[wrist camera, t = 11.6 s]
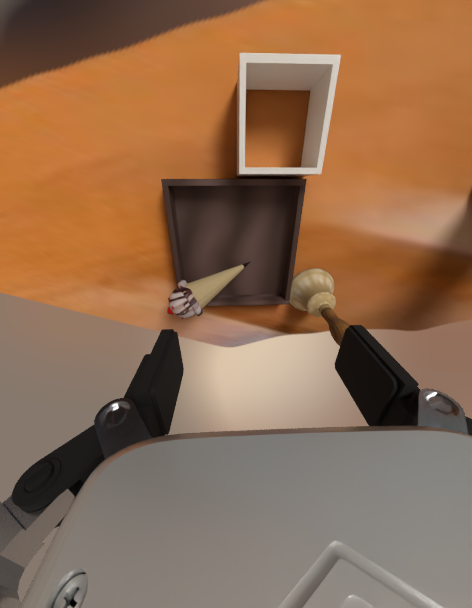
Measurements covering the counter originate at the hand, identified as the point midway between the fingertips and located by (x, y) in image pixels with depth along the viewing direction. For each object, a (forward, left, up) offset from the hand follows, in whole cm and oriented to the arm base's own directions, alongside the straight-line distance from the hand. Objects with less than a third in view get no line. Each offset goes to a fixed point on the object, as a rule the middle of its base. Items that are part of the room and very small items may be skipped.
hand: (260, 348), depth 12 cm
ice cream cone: (-2, +3, -24) cm, 24 cm away
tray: (+1, 0, -24) cm, 24 cm away
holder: (-4, -14, -24) cm, 28 cm away
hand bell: (-13, +8, -25) cm, 29 cm away
